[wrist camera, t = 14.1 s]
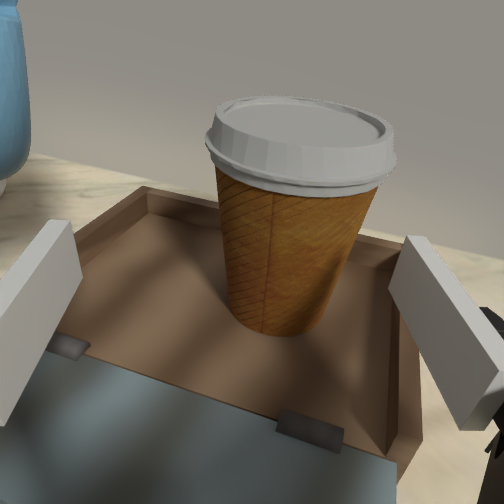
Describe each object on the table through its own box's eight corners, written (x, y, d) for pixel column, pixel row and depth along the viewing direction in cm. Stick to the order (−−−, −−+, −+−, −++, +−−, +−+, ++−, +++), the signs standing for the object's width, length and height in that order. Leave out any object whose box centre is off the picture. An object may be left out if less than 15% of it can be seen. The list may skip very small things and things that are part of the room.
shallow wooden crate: (-122, 456, 18) (-169, 403, 15) (146, 225, 36) (142, 185, 34) (391, 703, 13) (432, 678, 10) (399, 287, 31) (414, 246, 29)
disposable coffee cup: (271, 246, 31) (292, 87, 24) (376, 308, 26) (439, 128, 19) (173, 295, 25) (164, 105, 18) (282, 389, 20) (324, 171, 13)
